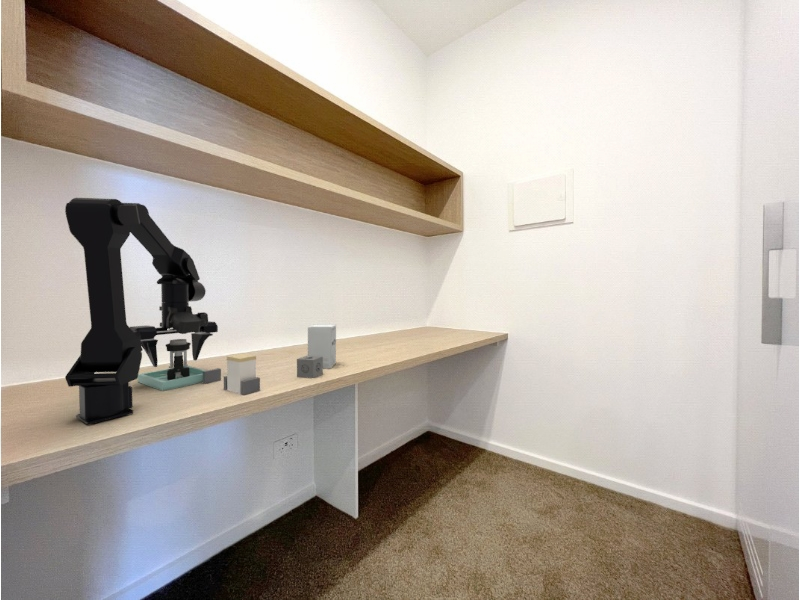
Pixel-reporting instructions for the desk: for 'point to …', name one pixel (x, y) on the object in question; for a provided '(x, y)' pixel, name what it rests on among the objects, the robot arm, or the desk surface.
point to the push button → (178, 359)
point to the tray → (164, 384)
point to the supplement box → (323, 343)
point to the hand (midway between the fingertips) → (176, 363)
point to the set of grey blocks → (215, 375)
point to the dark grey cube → (310, 366)
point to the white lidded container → (239, 370)
